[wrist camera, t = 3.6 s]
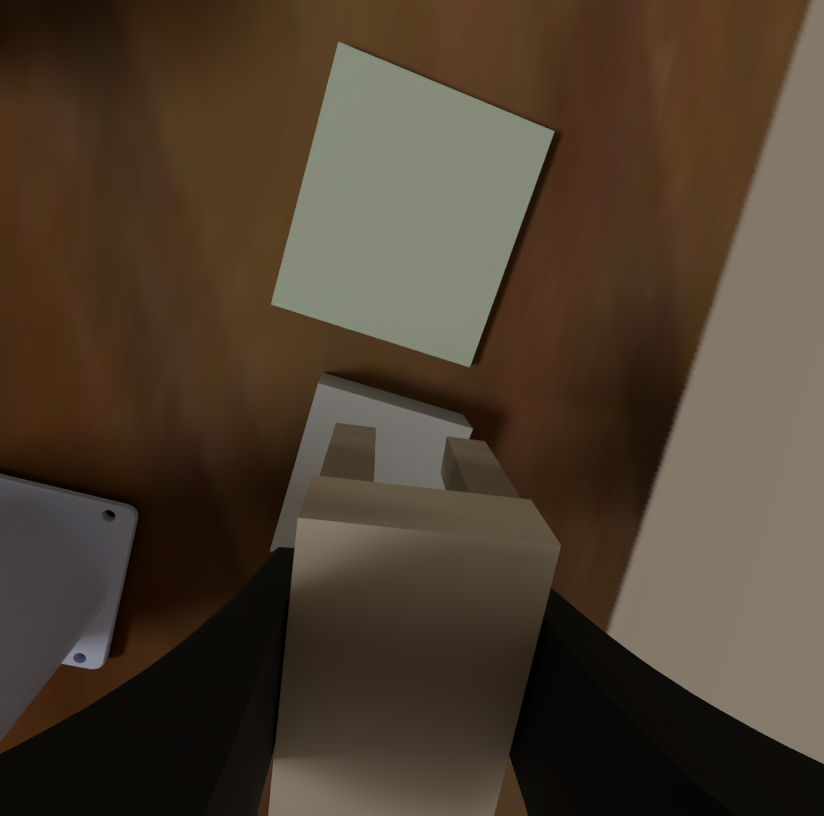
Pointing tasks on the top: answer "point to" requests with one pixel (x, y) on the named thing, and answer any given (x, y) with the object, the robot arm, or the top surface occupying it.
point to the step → (394, 448)
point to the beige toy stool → (407, 636)
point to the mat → (407, 208)
